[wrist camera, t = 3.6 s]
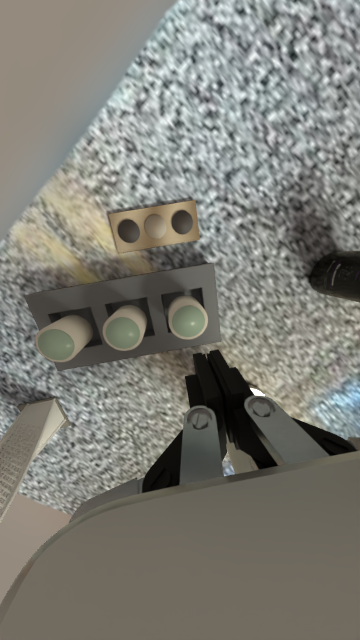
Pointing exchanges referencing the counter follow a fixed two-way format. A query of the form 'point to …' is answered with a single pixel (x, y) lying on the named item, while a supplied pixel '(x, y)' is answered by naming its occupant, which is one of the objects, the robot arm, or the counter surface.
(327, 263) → the supplement bottle
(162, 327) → the grey flat block
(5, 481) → the skyscraper
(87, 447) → the counter surface
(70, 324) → the button
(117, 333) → the button
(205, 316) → the button
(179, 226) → the pattern card
